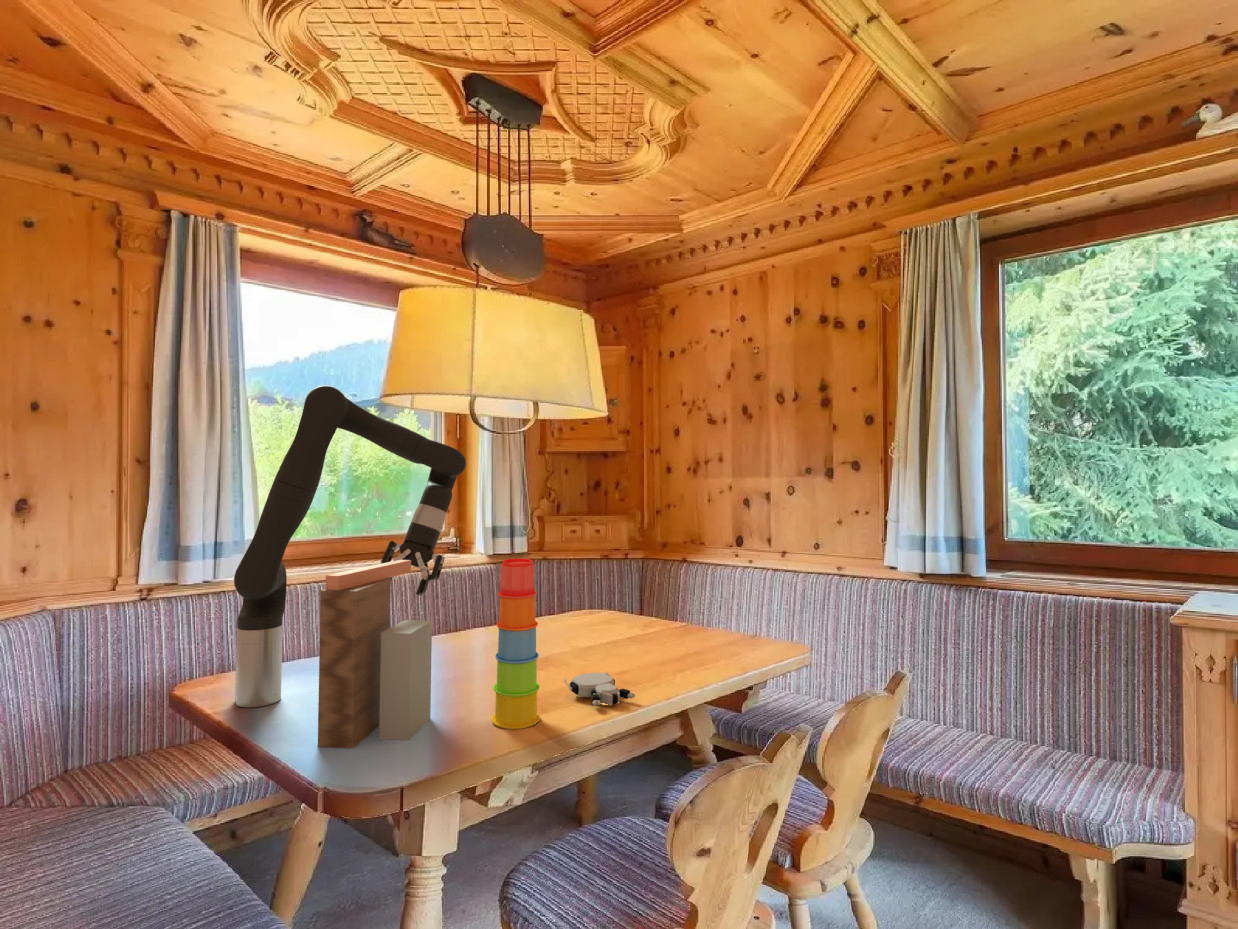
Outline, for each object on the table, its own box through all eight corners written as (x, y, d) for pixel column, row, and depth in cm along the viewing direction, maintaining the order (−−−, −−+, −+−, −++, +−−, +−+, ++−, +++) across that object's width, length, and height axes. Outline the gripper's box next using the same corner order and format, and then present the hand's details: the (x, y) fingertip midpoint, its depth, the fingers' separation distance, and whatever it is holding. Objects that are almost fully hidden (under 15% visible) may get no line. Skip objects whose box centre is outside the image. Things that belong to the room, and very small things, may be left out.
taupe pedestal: (379, 739, 134) (381, 632, 134) (403, 717, 146) (405, 620, 146) (408, 740, 133) (410, 633, 134) (430, 718, 145) (431, 620, 146)
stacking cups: (549, 719, 146) (551, 558, 146) (517, 733, 137) (519, 563, 138) (514, 709, 152) (516, 555, 152) (481, 722, 143) (483, 559, 144)
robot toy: (638, 708, 156) (604, 686, 169) (639, 688, 156) (605, 668, 169) (593, 718, 150) (561, 694, 162) (594, 698, 149) (561, 675, 162)
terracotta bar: (325, 589, 131) (325, 575, 131) (400, 571, 156) (400, 559, 156) (337, 590, 130) (338, 576, 130) (410, 572, 155) (411, 560, 155)
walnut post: (317, 746, 130) (320, 590, 130) (356, 717, 145) (359, 578, 146) (352, 748, 129) (355, 591, 130) (388, 718, 145) (390, 578, 145)
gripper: (394, 515, 163) (368, 580, 158) (448, 530, 161) (424, 597, 157) (405, 521, 170) (381, 584, 166) (457, 536, 168) (434, 600, 164)
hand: (402, 590), depth 161 cm, fingers open, 8 cm apart
